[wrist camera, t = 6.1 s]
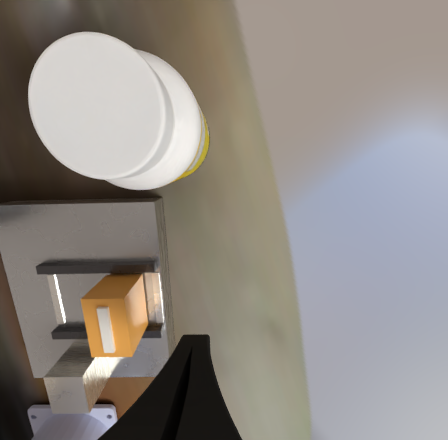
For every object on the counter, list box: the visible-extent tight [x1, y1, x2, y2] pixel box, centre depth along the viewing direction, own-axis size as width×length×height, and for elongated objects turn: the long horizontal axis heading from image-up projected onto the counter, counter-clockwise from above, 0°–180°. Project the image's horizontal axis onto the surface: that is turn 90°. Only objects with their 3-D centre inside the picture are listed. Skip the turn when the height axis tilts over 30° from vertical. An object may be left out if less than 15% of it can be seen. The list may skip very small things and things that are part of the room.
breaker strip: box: [0, 198, 175, 414], centre depth 16 cm, size 14×11×5 cm
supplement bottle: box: [28, 32, 210, 190], centre depth 11 cm, size 5×5×10 cm
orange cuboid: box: [81, 274, 148, 357], centre depth 15 cm, size 4×2×3 cm, turn 1°
